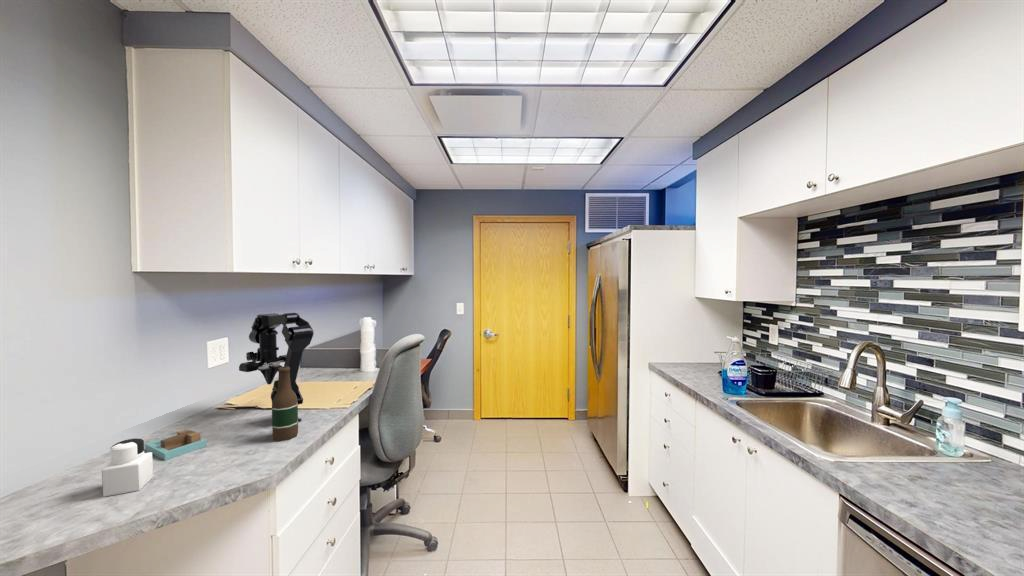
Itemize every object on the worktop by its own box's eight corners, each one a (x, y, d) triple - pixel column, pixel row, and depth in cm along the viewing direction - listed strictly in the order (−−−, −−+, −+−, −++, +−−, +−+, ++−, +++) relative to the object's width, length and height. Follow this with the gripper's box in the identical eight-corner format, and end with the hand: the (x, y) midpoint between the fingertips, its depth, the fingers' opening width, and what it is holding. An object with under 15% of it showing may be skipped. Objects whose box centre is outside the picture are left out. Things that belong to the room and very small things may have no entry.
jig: (207, 446, 120) (206, 440, 120) (165, 460, 111) (164, 453, 111) (186, 437, 127) (186, 431, 127) (145, 450, 118) (144, 443, 117)
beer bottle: (269, 437, 126) (267, 367, 126) (294, 430, 132) (292, 363, 131) (276, 444, 121) (274, 371, 120) (302, 436, 127) (300, 366, 126)
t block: (156, 451, 117) (155, 439, 116) (186, 441, 124) (185, 429, 124) (170, 456, 113) (170, 443, 113) (200, 445, 121) (200, 432, 121)
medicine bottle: (118, 483, 99) (117, 438, 98) (153, 477, 101) (152, 433, 101) (102, 497, 92) (100, 450, 92) (140, 490, 95) (138, 444, 95)
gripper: (279, 340, 159) (280, 376, 159) (230, 347, 142) (231, 388, 143) (295, 342, 154) (296, 379, 154) (246, 350, 137) (248, 391, 138)
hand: (269, 384), depth 147 cm, fingers closed
